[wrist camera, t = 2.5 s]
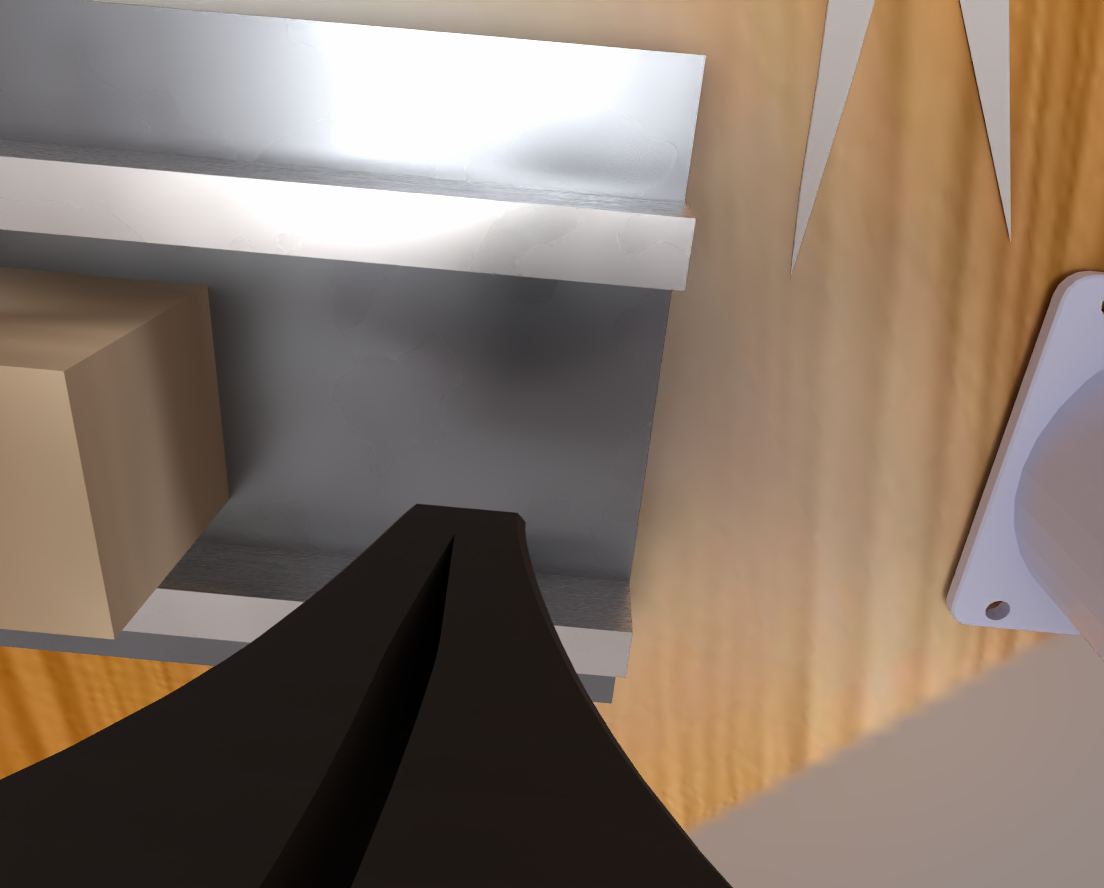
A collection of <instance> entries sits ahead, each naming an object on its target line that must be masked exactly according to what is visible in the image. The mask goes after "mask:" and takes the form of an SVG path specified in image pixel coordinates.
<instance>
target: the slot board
mask: <svg viewBox="0 0 1104 888" xmlns="http://www.w3.org/2000/svg"><path fill="white" fill-rule="evenodd" d="M705 58H706V55H695V54H684V53H672V52H661V51H650V50H639V49H627V48H616V47H605V46H593V45H582V44H571V43H559V42H548V41H537V40H525V39H514V38H503V37H492V36H480V35H469V34H458V33H446V32H435V31H424V30H412V29H401V28H390V27H379V26H367V25H356V24H345V23H333V22H322V21H311V20H299V19H288V18H277V17H265V16H254V15H243V14H232V13H220V12H209V11H198V10H186V9H175V8H164V7H152V6H141V5H130V4H118V3H107V2H96V1H85V0H0V267H5V268H16V269H27V270H38V271H49V272H60V273H71V274H82V275H93V276H104V277H115V278H126V279H137V280H148V281H159V282H170V283H181V284H192V285H203V286H207V287H208V297H209V306H210V316H211V326H212V335H213V345H214V354H215V364H216V374H217V383H218V393H219V402H220V412H221V422H222V431H223V441H224V451H225V460H226V470H227V479H228V489H229V499H230V500H229V501H228V502H227V503H226V504H225V506H224V507H223V508H222V509H221V511H220V512H219V513H218V514H217V515H216V517H215V518H214V519H213V520H212V521H211V523H210V524H209V525H208V526H207V528H206V529H205V530H204V531H203V532H202V534H201V535H200V536H199V537H198V539H197V540H196V541H195V542H194V543H193V545H192V546H191V547H190V548H189V549H188V551H187V552H186V553H185V554H184V556H183V557H182V558H181V559H180V560H179V562H178V563H177V564H176V565H175V567H174V568H173V569H172V570H171V571H170V573H169V574H168V575H167V576H166V577H165V579H164V580H163V581H162V582H161V584H160V585H159V586H158V587H157V588H156V590H155V591H154V592H153V593H152V595H151V596H150V597H149V598H148V599H147V601H146V602H145V603H144V604H143V606H142V607H141V608H140V609H139V610H138V612H137V613H136V614H135V615H134V616H133V618H132V619H131V620H130V621H129V623H128V624H127V625H126V626H125V627H124V629H123V630H122V631H121V632H120V634H119V635H118V636H117V637H116V638H115V640H114V639H104V638H93V637H83V636H72V635H61V634H51V633H40V632H29V631H19V630H8V629H0V646H7V647H18V648H28V649H39V650H50V651H60V652H71V653H82V654H92V655H103V656H113V657H124V658H135V659H145V660H156V661H167V662H177V663H188V664H198V665H209V666H216V665H218V664H219V663H221V662H222V661H224V660H226V659H227V658H229V657H230V656H232V655H233V654H235V653H236V652H238V651H239V650H241V649H242V648H244V647H245V646H246V645H248V644H249V643H251V642H252V641H254V640H255V639H256V638H258V637H259V636H261V635H262V634H263V633H264V632H266V631H267V630H268V629H270V628H271V627H272V626H274V625H275V624H276V623H278V622H279V621H280V620H282V619H283V618H284V617H285V616H287V615H288V614H289V613H291V612H292V611H293V610H295V609H296V608H297V607H299V606H300V605H301V604H302V603H304V602H305V601H306V600H308V599H309V598H310V597H311V596H313V595H314V594H315V593H316V592H317V591H319V590H320V589H321V588H322V587H323V586H325V585H326V584H327V583H328V582H329V581H330V580H332V579H333V578H334V577H335V576H336V575H337V574H339V573H340V572H341V571H342V570H343V569H344V568H346V567H347V566H348V565H349V564H350V563H351V562H353V561H354V560H355V559H356V558H357V557H358V556H359V555H360V554H361V553H363V552H364V551H365V550H366V549H367V548H368V547H369V546H370V545H371V544H372V543H374V542H375V541H376V540H377V539H378V538H379V537H380V536H381V535H382V534H383V533H384V532H385V531H386V530H387V529H388V528H390V527H391V526H392V525H393V524H394V523H395V522H396V521H397V520H398V519H399V518H400V517H401V516H402V515H403V514H405V513H406V512H407V511H408V510H409V509H410V508H412V507H413V506H414V505H416V504H427V505H438V506H449V507H460V508H471V509H482V510H493V511H504V512H515V513H518V514H519V515H520V516H521V517H522V518H523V519H524V521H525V522H526V528H525V531H526V541H527V547H528V551H529V556H530V559H531V563H532V567H533V570H534V574H535V577H536V580H537V583H538V586H539V589H540V592H541V594H542V597H543V599H544V602H545V604H546V607H547V609H548V612H549V615H550V617H551V620H552V622H553V625H554V627H555V629H556V631H557V634H558V636H559V638H560V640H561V643H562V645H563V647H564V649H565V651H566V653H567V655H568V657H569V659H570V661H571V663H572V665H573V667H574V669H575V671H576V673H577V675H578V677H579V678H580V680H581V682H582V684H583V686H584V688H585V690H586V691H587V693H588V695H589V697H590V698H591V700H592V702H602V703H612V697H613V690H614V683H615V677H622V678H626V673H627V667H628V660H629V653H630V647H631V640H632V634H633V631H632V616H631V601H630V586H629V580H630V573H631V566H632V560H633V553H634V546H635V539H636V532H637V525H638V518H639V511H640V505H641V498H642V491H643V484H644V477H645V470H646V463H647V457H648V450H649V443H650V436H651V429H652V422H653V415H654V408H655V402H656V395H657V388H658V381H659V374H660V367H661V360H662V354H663V347H664V340H665V333H666V326H667V319H668V312H669V305H670V299H671V292H672V290H677V291H685V287H686V280H687V274H688V267H689V261H690V254H691V248H692V241H693V234H694V228H695V221H696V218H695V216H694V215H693V213H692V212H691V210H690V209H689V207H688V205H687V204H686V202H685V196H686V189H687V182H688V175H689V168H690V161H691V154H692V147H693V141H694V134H695V127H696V120H697V113H698V106H699V99H700V93H701V86H702V79H703V72H704V65H705Z"/></svg>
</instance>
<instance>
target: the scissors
mask: <svg viewBox="0 0 1104 888" xmlns="http://www.w3.org/2000/svg"><path fill="white" fill-rule="evenodd" d="M874 2H875V0H828V2H827V10H826V17H825V24H824V31H823V39H822V46H821V53H820V60H819V68H818V75H817V82H816V88H815V94H814V101H813V107H812V113H811V119H810V126H809V132H808V138H807V145H806V151H805V157H804V163H803V170H802V176H801V182H800V189H799V198H798V207H797V216H796V225H795V234H794V245H793V255H792V265H791V275H792V272H793V268H794V265H795V262H796V259H797V256H798V252H799V249H800V246H801V243H802V240H803V236H804V233H805V230H806V227H807V224H808V220H809V217H810V214H811V211H812V208H813V204H814V201H815V198H816V195H817V192H818V188H819V185H820V182H821V179H822V175H823V172H824V169H825V166H826V163H827V159H828V156H829V153H830V150H831V147H832V143H833V140H834V137H835V134H836V131H837V127H838V124H839V121H840V118H841V115H842V111H843V108H844V105H845V102H846V99H847V95H848V92H849V89H850V86H851V83H852V79H853V76H854V73H855V69H856V66H857V62H858V59H859V55H860V52H861V48H862V45H863V41H864V38H865V34H866V31H867V27H868V23H869V20H870V16H871V13H872V9H873V6H874ZM960 4H961V8H962V13H963V18H964V23H965V27H966V32H967V37H968V42H969V46H970V51H971V56H972V61H973V65H974V70H975V75H976V80H977V85H978V89H979V94H980V99H981V104H982V108H983V113H984V118H985V123H986V127H987V132H988V137H989V142H990V147H991V151H992V156H993V161H994V166H995V170H996V175H997V180H998V185H999V189H1000V194H1001V199H1002V204H1003V209H1004V213H1005V218H1006V223H1007V228H1008V232H1009V237H1010V242H1011V192H1010V62H1009V0H960ZM791 275H790V278H791Z"/></svg>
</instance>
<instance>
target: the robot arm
mask: <svg viewBox="0 0 1104 888" xmlns="http://www.w3.org/2000/svg"><path fill="white" fill-rule="evenodd" d="M1103 301H1104V272H1097V271H1082V272H1077V273H1075V274H1072V275H1070V276H1068V277H1067V278H1066V279H1064V280H1063V281H1062V282H1061V283H1060V284H1059V285H1058V287H1057V288H1056V290H1055V292H1054V294H1053V296H1052V299H1051V302H1050V305H1049V308H1048V310H1047V313H1046V316H1045V319H1044V322H1043V325H1042V327H1041V330H1040V333H1039V336H1038V339H1037V342H1036V344H1035V347H1034V350H1033V353H1032V356H1031V359H1030V362H1029V364H1028V367H1027V370H1026V373H1025V376H1024V379H1023V381H1022V384H1021V387H1020V390H1019V393H1018V396H1017V399H1016V401H1015V404H1014V407H1013V410H1012V413H1011V416H1010V418H1009V421H1008V424H1007V427H1006V430H1005V433H1004V435H1003V438H1002V441H1001V444H1000V447H999V450H998V453H997V455H996V458H995V461H994V464H993V467H992V470H991V472H990V475H989V478H988V481H987V484H986V487H985V490H984V492H983V495H982V498H981V501H980V504H979V507H978V509H977V512H976V515H975V518H974V521H973V524H972V527H971V529H970V532H969V535H968V538H967V541H966V544H965V546H964V549H963V552H962V555H961V558H960V561H959V563H958V566H957V569H956V572H955V575H954V578H953V581H952V583H951V586H950V589H949V592H948V595H947V599H946V605H947V608H948V610H949V612H950V613H951V615H952V616H953V618H954V619H955V620H956V621H958V622H959V623H961V624H965V625H971V626H982V627H992V628H1003V629H1014V630H1025V631H1035V632H1046V633H1057V634H1068V635H1078V636H1079V635H1080V636H1083V637H1084V638H1085V640H1086V641H1087V642H1088V643H1089V644H1090V645H1091V647H1092V648H1093V649H1094V650H1095V651H1096V653H1097V654H1098V655H1099V656H1100V657H1101V658H1102V659H1103V661H1104V312H1102V311H1101V308H1102V302H1103ZM525 528H526V522H525V521H524V519H523V518H522V517H521V516H520V515H519V514H518V513H515V512H504V511H493V510H482V509H471V508H460V507H449V506H438V505H427V504H416V505H414V506H413V507H412V508H410V509H409V510H408V511H407V512H406V513H405V514H403V515H402V516H401V517H400V518H399V519H398V520H397V521H396V522H395V523H394V524H393V525H392V526H391V527H390V528H388V529H387V530H386V531H385V532H384V533H383V534H382V535H381V536H380V537H379V538H378V539H377V540H376V541H375V542H374V543H372V544H371V545H370V546H369V547H368V548H367V549H366V550H365V551H364V552H363V553H361V554H360V555H359V556H358V557H357V558H356V559H355V560H354V561H353V562H351V563H350V564H349V565H348V566H347V567H346V568H344V569H343V570H342V571H341V572H340V573H339V574H337V575H336V576H335V577H334V578H333V579H332V580H330V581H329V582H328V583H327V584H326V585H325V586H323V587H322V588H321V589H320V590H319V591H317V592H316V593H315V594H314V595H313V596H311V597H310V598H309V599H308V600H306V601H305V602H304V603H302V604H301V605H300V606H299V607H297V608H296V609H295V610H293V611H292V612H291V613H289V614H288V615H287V616H285V617H284V618H283V619H282V620H280V621H279V622H278V623H276V624H275V625H274V626H272V627H271V628H270V629H268V630H267V631H266V632H264V633H263V634H262V635H261V636H259V637H258V638H256V639H255V640H254V641H252V642H251V643H249V644H248V645H246V646H245V647H244V648H242V649H241V650H239V651H238V652H236V653H235V654H233V655H232V656H230V657H229V658H227V659H226V660H224V661H222V662H221V663H219V664H218V665H216V666H214V667H213V668H211V669H209V670H208V671H206V672H205V673H203V674H201V675H200V676H198V677H197V678H195V679H193V680H192V681H190V682H189V683H187V684H185V685H184V686H182V687H180V688H179V689H177V690H175V691H173V692H172V693H170V694H168V695H167V696H165V697H163V698H161V699H159V700H158V701H156V702H154V703H152V704H150V705H148V706H146V707H144V708H142V709H141V710H139V711H137V712H135V713H133V714H131V715H129V716H127V717H126V718H124V719H122V720H120V721H118V722H116V723H114V724H112V725H110V726H109V727H107V728H105V729H103V730H101V731H99V732H97V733H95V734H94V735H92V736H90V737H88V738H86V739H84V740H82V741H80V742H78V743H77V744H75V745H73V746H71V747H69V748H67V749H65V750H63V751H61V752H59V753H57V754H55V755H52V756H50V757H48V758H46V759H44V760H42V761H40V762H37V763H35V764H33V765H31V766H29V767H27V768H25V769H22V770H20V771H18V772H16V773H14V774H12V775H10V776H7V777H5V778H3V779H1V780H0V888H733V887H732V886H731V885H730V884H729V883H728V882H727V881H726V880H725V878H724V877H723V876H722V875H721V874H720V873H719V872H718V871H717V870H716V868H715V867H714V866H713V865H712V864H711V863H710V862H709V861H708V860H707V858H706V857H705V856H704V855H703V854H702V853H701V852H700V850H699V849H698V848H697V847H696V845H695V844H694V843H693V842H692V840H691V839H690V838H689V836H688V835H687V834H686V833H685V831H684V830H683V829H682V828H681V826H680V825H679V824H678V822H677V821H676V820H675V819H674V817H673V816H672V815H671V814H670V812H669V811H668V810H667V809H666V807H665V806H664V805H663V803H662V802H661V801H660V800H659V798H658V797H657V796H656V795H655V793H654V792H653V791H652V790H651V788H650V787H649V786H648V785H647V783H646V782H645V781H644V779H643V778H642V777H641V775H640V774H639V773H638V771H637V770H636V768H635V767H634V765H633V764H632V762H631V761H630V759H629V758H628V756H627V755H626V754H625V752H624V751H623V749H622V748H621V746H620V745H619V743H618V742H617V740H616V739H615V737H614V736H613V734H612V733H611V731H610V729H609V728H608V726H607V725H606V723H605V721H604V720H603V718H602V717H601V715H600V713H599V712H598V710H597V709H596V707H595V705H594V704H593V702H592V700H591V698H590V697H589V695H588V693H587V691H586V690H585V688H584V686H583V684H582V682H581V680H580V678H579V677H578V675H577V673H576V671H575V669H574V667H573V665H572V663H571V661H570V659H569V657H568V655H567V653H566V651H565V649H564V647H563V645H562V643H561V640H560V638H559V636H558V634H557V631H556V629H555V627H554V625H553V622H552V620H551V617H550V615H549V612H548V609H547V607H546V604H545V602H544V599H543V597H542V594H541V592H540V589H539V586H538V583H537V580H536V577H535V574H534V570H533V567H532V563H531V559H530V556H529V551H528V547H527V541H526V531H525ZM995 601H1001V603H1000V604H999V605H998V606H997V607H995V608H993V609H986V608H987V607H988V606H989V605H990V604H991V603H993V602H995Z"/></svg>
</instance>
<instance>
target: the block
mask: <svg viewBox="0 0 1104 888" xmlns="http://www.w3.org/2000/svg"><path fill="white" fill-rule="evenodd" d="M229 500H230V499H229V489H228V479H227V470H226V460H225V451H224V441H223V431H222V422H221V412H220V402H219V393H218V383H217V374H216V364H215V354H214V345H213V335H212V326H211V316H210V306H209V297H208V287H207V286H203V285H192V284H181V283H170V282H159V281H148V280H137V279H126V278H115V277H104V276H93V275H82V274H71V273H60V272H49V271H38V270H27V269H16V268H5V267H0V629H8V630H19V631H29V632H40V633H51V634H61V635H72V636H83V637H93V638H104V639H114V640H115V638H116V637H117V636H118V635H119V634H120V632H121V631H122V630H123V629H124V627H125V626H126V625H127V624H128V623H129V621H130V620H131V619H132V618H133V616H134V615H135V614H136V613H137V612H138V610H139V609H140V608H141V607H142V606H143V604H144V603H145V602H146V601H147V599H148V598H149V597H150V596H151V595H152V593H153V592H154V591H155V590H156V588H157V587H158V586H159V585H160V584H161V582H162V581H163V580H164V579H165V577H166V576H167V575H168V574H169V573H170V571H171V570H172V569H173V568H174V567H175V565H176V564H177V563H178V562H179V560H180V559H181V558H182V557H183V556H184V554H185V553H186V552H187V551H188V549H189V548H190V547H191V546H192V545H193V543H194V542H195V541H196V540H197V539H198V537H199V536H200V535H201V534H202V532H203V531H204V530H205V529H206V528H207V526H208V525H209V524H210V523H211V521H212V520H213V519H214V518H215V517H216V515H217V514H218V513H219V512H220V511H221V509H222V508H223V507H224V506H225V504H226V503H227V502H228V501H229Z"/></svg>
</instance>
